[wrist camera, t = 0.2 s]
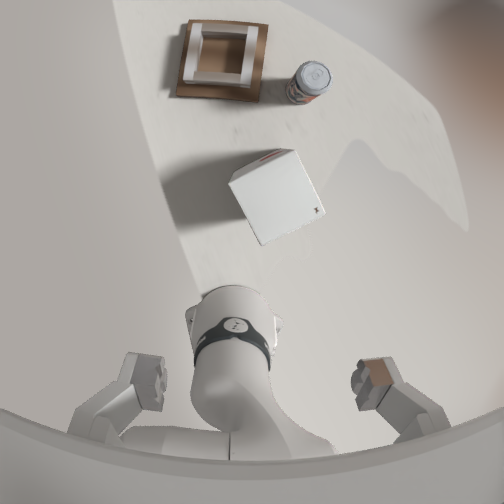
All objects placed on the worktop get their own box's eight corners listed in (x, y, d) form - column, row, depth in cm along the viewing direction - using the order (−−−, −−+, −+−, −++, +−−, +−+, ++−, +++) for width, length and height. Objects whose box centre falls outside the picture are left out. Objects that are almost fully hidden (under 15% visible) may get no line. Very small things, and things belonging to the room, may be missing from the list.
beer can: (279, 92, 43) (289, 76, 32) (297, 72, 42) (313, 52, 31) (302, 110, 44) (319, 100, 33) (320, 91, 43) (342, 76, 32)
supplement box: (281, 146, 46) (297, 147, 32) (305, 194, 49) (329, 215, 35) (231, 171, 48) (225, 182, 34) (256, 218, 50) (261, 248, 36)
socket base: (257, 102, 44) (258, 98, 40) (177, 96, 43) (171, 92, 39) (267, 27, 39) (270, 17, 35) (190, 22, 38) (185, 12, 34)
